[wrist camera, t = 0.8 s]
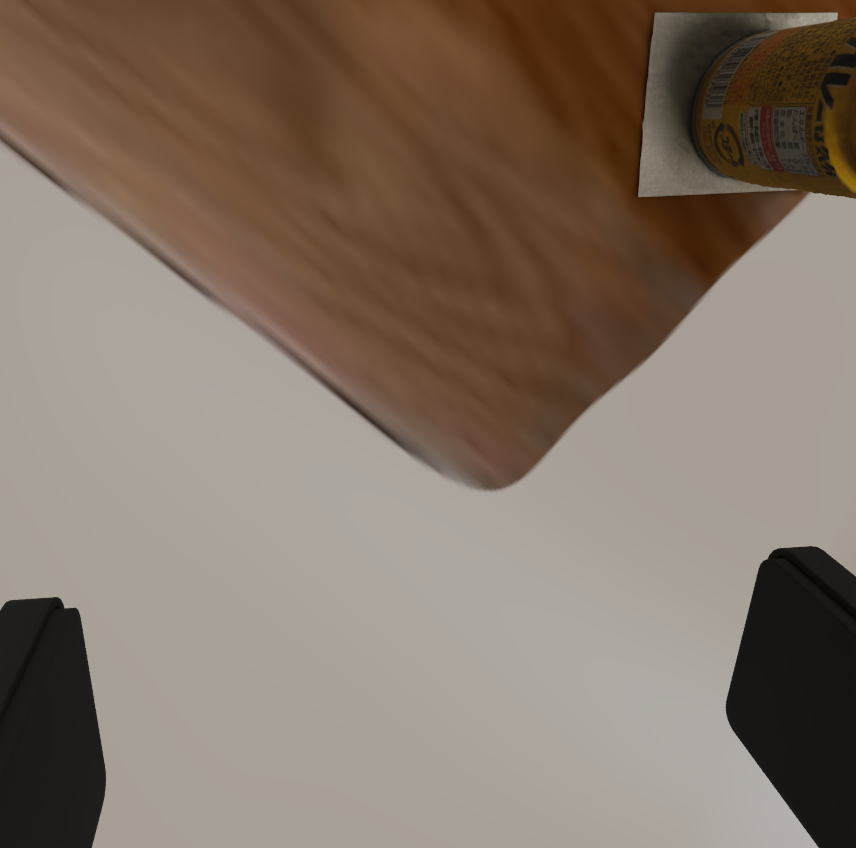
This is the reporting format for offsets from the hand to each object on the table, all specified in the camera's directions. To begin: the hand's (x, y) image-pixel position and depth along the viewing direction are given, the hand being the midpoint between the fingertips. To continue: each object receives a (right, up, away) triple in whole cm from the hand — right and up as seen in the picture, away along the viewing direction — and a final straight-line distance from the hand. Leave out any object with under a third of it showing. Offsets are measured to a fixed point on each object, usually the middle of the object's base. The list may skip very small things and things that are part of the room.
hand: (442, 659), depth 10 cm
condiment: (+13, +17, +23) cm, 32 cm away
